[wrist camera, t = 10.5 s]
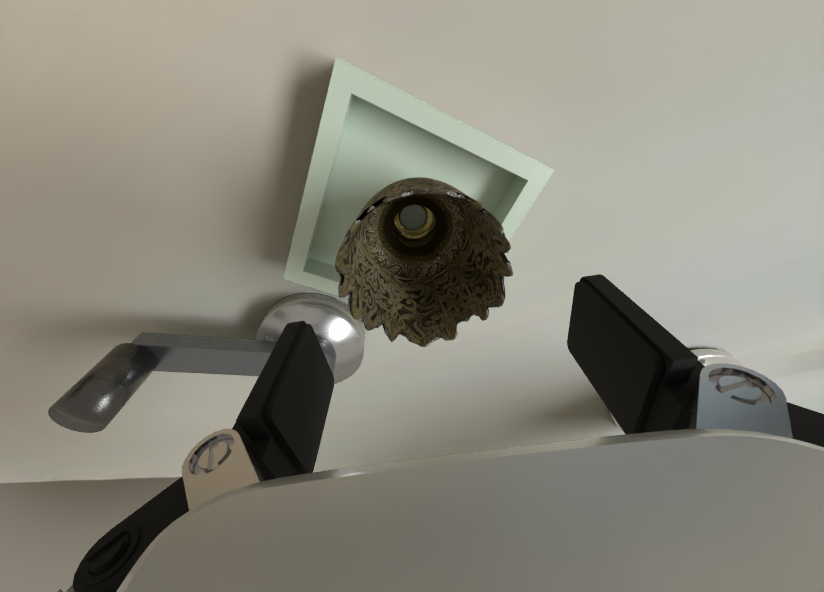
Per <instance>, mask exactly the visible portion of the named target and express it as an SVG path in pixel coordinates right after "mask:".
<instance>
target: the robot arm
mask: <svg viewBox="0 0 824 592" xmlns="http://www.w3.org/2000/svg"><path fill="white" fill-rule="evenodd" d="M567 345H568V349H569V351H570V353H571V354H572V356H573V357H574V359H575V360H576V362H577V363H578V365H579V366H580V368H581V369H582V371H583V372H584V374H585V375H586V376H587V378H588V379H589V381H590V382H591V384H592V385H593V387H594V388H595V390H596V391H597V393H598V394H599V396H600V397H601V399H602V400H603V402H604V403H605V405H606V406H607V408H608V409H609V412H610V415H611V417H612V419H613V421H614V422H615V424H616V425H617V426H618V427H619V428H620V429H621V430H623V431H624V433H625V434H626V435H616V436H607V437H598V438H589V439H581V440H572V441H564V442H555V443H546V444H538V445H529V446H520V447H512V448H504V449H496V450H487V451H479V452H471V453H463V454H454V455H446V456H438V457H430V458H422V459H414V460H406V461H398V462H390V463H382V464H374V465H367V466H359V467H351V468H343V469H335V470H328V471H322V472H315V473H312V472H313V470H314V466H315V462H316V458H317V454H318V450H319V445H320V441H321V437H322V433H323V429H324V425H325V421H326V416H327V412H328V408H329V404H330V400H331V396H332V391H333V387H334V376H333V373H332V371H331V368H330V366H329V364H328V362H327V359H326V357H325V355H324V352H323V350H322V348H321V346H320V343H319V341H318V339H317V336H316V334H315V332H314V330H313V327H312V325H311V324H307V323H306V322H305V321H298V322H291V323H287V324H286V326H285V328H284V330H283V332H282V334H281V335H280V337H279V339H278V341H277V343H276V345H275V347H274V349H273V351H272V353H271V355H270V356H269V358H268V360H267V362H266V364H265V366H264V368H263V370H262V372H261V374H260V376H259V378H258V379H257V381H256V383H255V385H254V387H253V389H252V391H251V393H250V395H249V397H248V399H247V400H246V402H245V404H244V406H243V408H242V410H241V412H240V414H239V416H238V418H237V420H236V423H235V425H234V427H233V429H223V430H219V431H216V432H214V433H212V434H210V435H208V436H207V437H205V438H204V439H203V440H201V441H200V442H199V443H198V444H197V445H196V446H195V447H194V448H193V449H192V450H191V451H190V453H189V454H188V456H187V457H186V458H185V461H184V463H183V466H182V477H181V478H180V479H178V480H177V481H176V482H174V483H173V484H171V485H170V486H169V487H167V488H166V489H165V490H163V491H162V492H161V493H159V494H158V495H157V496H156V497H154V498H153V499H152V500H150V501H149V502H147V503H146V504H145V505H143V506H142V507H141V508H139V509H138V510H137V511H135V512H134V513H133V514H132V515H130V516H128V517H127V518H126V519H124V520H123V521H122V522H120V523H119V524H118V525H116V526H115V527H114V528H112V529H111V530H110V531H109V532H107V533H106V534H105V535H104V536H103V537H102V538H101V539H99V540H98V541H97V542H96V544H95V545H94V546H93V547H92V548H91V549H90V550H89V551H88V553H87V554H86V555H85V557H84V558H83V560H82V561H81V563H80V564H79V567H78V569H77V571H76V573H75V575H74V580H73V585H72V586H71V587H70V588H69V589H68V590H67V591H65V590H62V589H60V590H59V591H58V592H824V414H821V413H818V412H815V411H812V410H809V409H806V408H803V407H800V406H797V405H794V404H791V403H788V402H787V401H786V397H785V395H784V393H783V391H782V390H781V389H780V388H779V387H778V385H777V384H776V383H774V382H773V381H771V380H770V379H769V378H767V377H766V376H764V375H762V374H760V373H758V372H756V371H754V370H751V369H748V368H745V367H744V366H743V365H742V363H741V362H740V361H739V360H737V359H736V358H735V357H733V356H732V355H731V354H729V353H727V352H724V351H722V350H716V349H695V350H689V349H688V348H687V347H686V346H684V345H683V344H682V343H681V342H680V341H679V340H677V339H676V338H675V337H674V336H673V335H672V334H671V333H669V332H668V331H667V330H666V329H665V328H664V327H662V326H661V325H660V324H659V323H658V322H657V321H655V320H654V319H653V318H652V317H651V316H650V315H648V314H647V313H646V312H645V311H644V310H643V309H641V308H640V307H639V306H638V305H637V304H636V303H634V302H633V301H632V300H631V299H630V298H629V297H627V296H626V295H625V294H624V293H623V292H622V291H620V290H619V289H618V288H617V287H616V286H615V285H614V284H612V283H611V282H610V281H609V280H608V279H607V278H605V277H604V276H603V275H593V276H586V277H582V278H581V279H580V282H577V283H576V284H575V289H574V296H573V303H572V311H571V318H570V325H569V333H568V340H567Z"/></svg>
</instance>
